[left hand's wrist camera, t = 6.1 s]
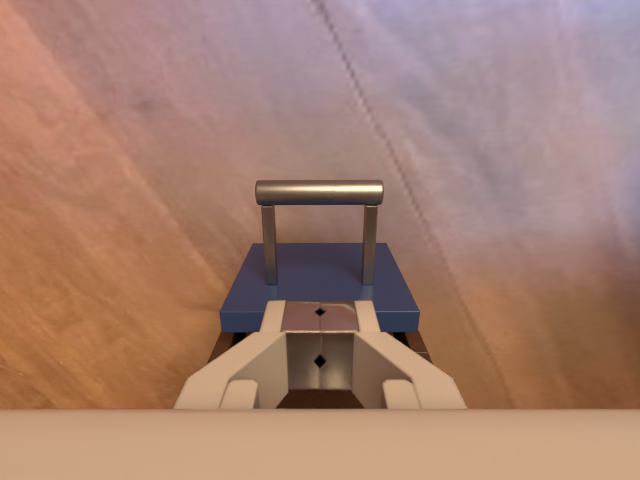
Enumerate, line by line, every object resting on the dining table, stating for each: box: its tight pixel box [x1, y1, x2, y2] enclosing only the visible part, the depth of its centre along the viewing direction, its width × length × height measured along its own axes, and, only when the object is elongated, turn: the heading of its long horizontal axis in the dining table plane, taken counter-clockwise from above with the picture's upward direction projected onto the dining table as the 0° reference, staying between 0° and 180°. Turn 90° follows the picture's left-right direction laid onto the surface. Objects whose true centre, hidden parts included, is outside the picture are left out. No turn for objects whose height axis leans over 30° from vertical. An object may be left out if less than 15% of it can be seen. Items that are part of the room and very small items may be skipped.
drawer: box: [220, 180, 420, 338], centre depth 22 cm, size 20×10×9 cm, turn 0°
